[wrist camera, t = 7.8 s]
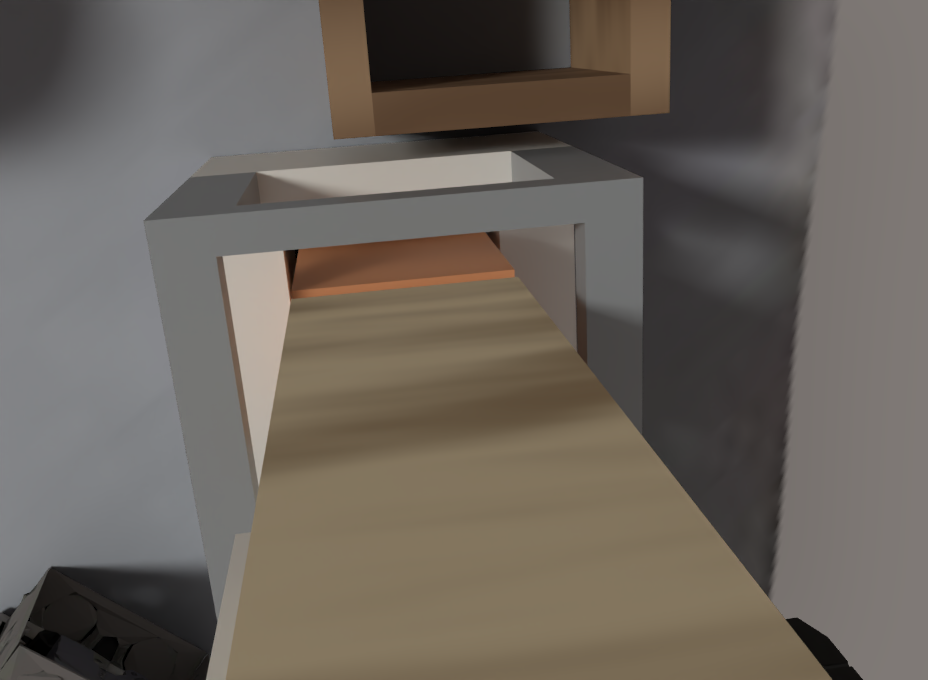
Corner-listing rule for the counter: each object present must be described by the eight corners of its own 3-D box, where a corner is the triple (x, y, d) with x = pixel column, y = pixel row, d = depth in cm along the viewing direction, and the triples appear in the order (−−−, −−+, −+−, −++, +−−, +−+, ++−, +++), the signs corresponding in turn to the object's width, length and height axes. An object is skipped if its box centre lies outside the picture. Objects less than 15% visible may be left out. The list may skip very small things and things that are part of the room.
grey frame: (211, 157, 32) (143, 221, 21) (538, 131, 33) (643, 177, 22) (283, 623, 38) (262, 865, 27) (554, 586, 40) (640, 802, 28)
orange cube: (300, 241, 29) (291, 291, 23) (479, 224, 30) (514, 269, 24) (321, 408, 31) (318, 492, 25) (489, 389, 32) (523, 467, 26)
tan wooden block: (291, 298, 23) (93, 1450, 4) (518, 277, 24) (1227, 1186, 5) (318, 503, 25) (265, 1911, 6) (527, 477, 26) (1056, 1679, 7)
